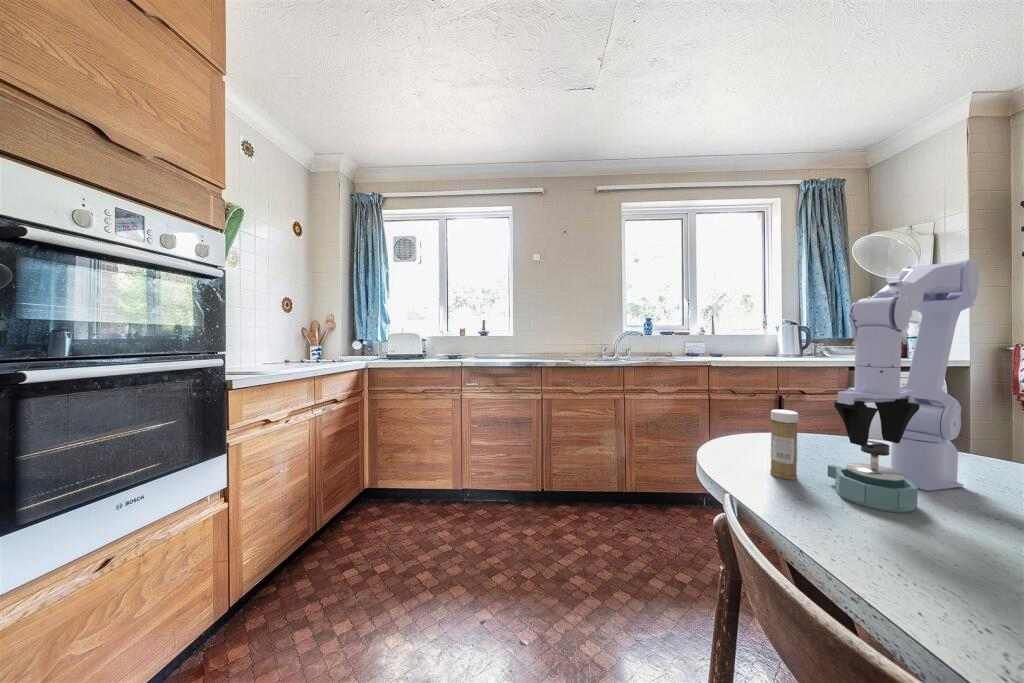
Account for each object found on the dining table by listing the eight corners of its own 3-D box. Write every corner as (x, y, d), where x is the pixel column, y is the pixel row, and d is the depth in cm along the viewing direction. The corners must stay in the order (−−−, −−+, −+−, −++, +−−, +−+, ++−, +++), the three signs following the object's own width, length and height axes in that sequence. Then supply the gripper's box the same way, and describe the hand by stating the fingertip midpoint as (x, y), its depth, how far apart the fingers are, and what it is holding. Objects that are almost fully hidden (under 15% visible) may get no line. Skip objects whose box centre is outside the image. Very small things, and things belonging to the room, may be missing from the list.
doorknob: (866, 464, 70) (867, 436, 70) (915, 479, 63) (916, 448, 63) (836, 467, 68) (837, 439, 68) (882, 483, 61) (883, 451, 61)
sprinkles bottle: (800, 477, 76) (802, 411, 75) (791, 482, 73) (793, 414, 73) (775, 470, 79) (776, 407, 79) (765, 474, 77) (766, 410, 76)
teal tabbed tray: (850, 480, 74) (850, 461, 74) (931, 509, 62) (932, 487, 62) (809, 484, 72) (810, 465, 72) (885, 515, 60) (885, 492, 60)
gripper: (881, 363, 70) (879, 434, 71) (820, 364, 67) (818, 438, 68) (930, 366, 63) (927, 445, 64) (864, 368, 60) (862, 451, 61)
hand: (874, 442), depth 65 cm, fingers open, 7 cm apart
